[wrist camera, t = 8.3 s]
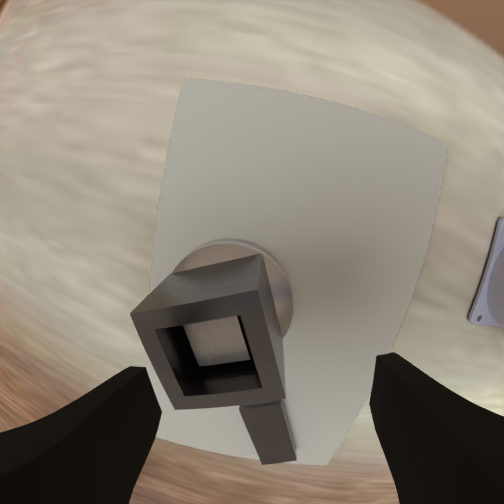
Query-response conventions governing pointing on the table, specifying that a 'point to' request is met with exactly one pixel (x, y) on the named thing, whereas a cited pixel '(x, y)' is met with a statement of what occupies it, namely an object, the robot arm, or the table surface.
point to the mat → (300, 241)
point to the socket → (206, 309)
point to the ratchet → (245, 345)
